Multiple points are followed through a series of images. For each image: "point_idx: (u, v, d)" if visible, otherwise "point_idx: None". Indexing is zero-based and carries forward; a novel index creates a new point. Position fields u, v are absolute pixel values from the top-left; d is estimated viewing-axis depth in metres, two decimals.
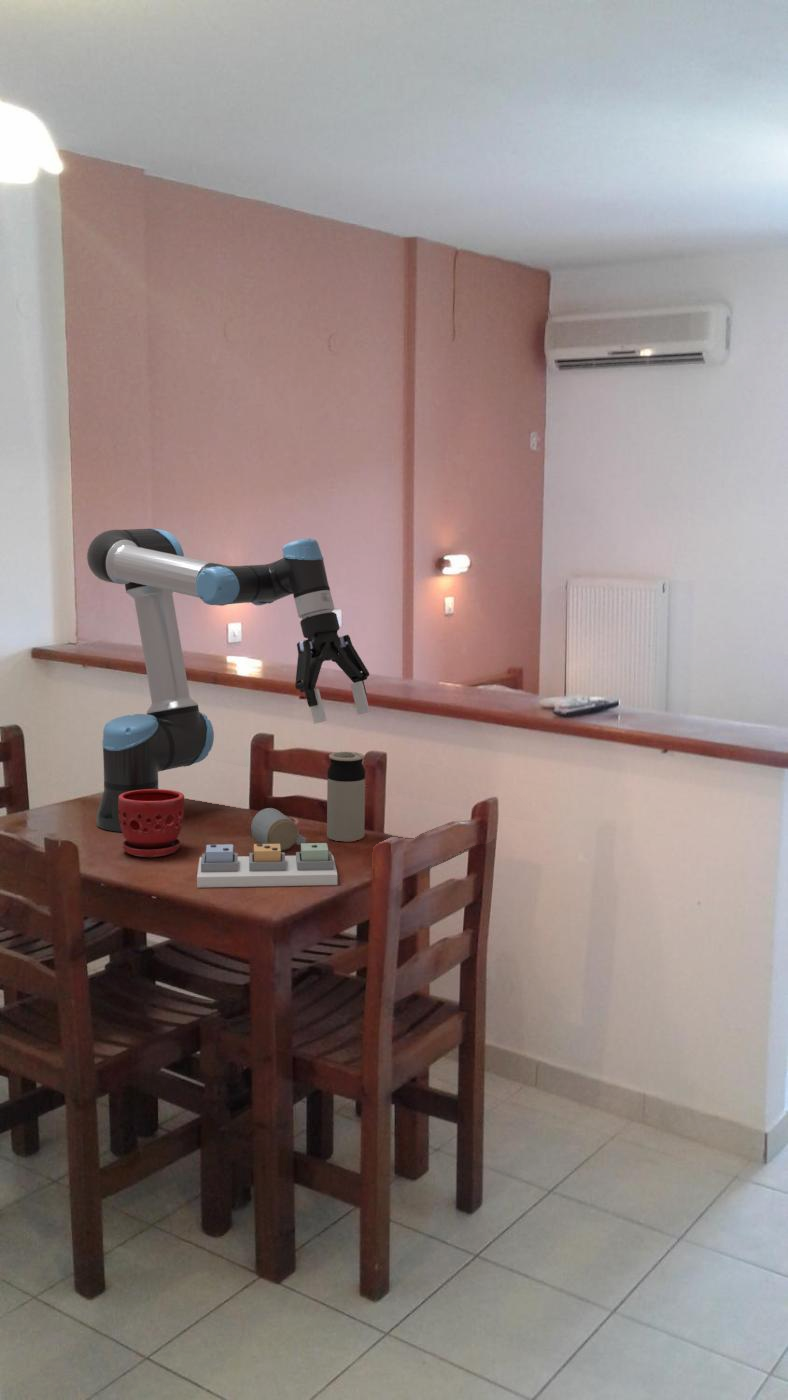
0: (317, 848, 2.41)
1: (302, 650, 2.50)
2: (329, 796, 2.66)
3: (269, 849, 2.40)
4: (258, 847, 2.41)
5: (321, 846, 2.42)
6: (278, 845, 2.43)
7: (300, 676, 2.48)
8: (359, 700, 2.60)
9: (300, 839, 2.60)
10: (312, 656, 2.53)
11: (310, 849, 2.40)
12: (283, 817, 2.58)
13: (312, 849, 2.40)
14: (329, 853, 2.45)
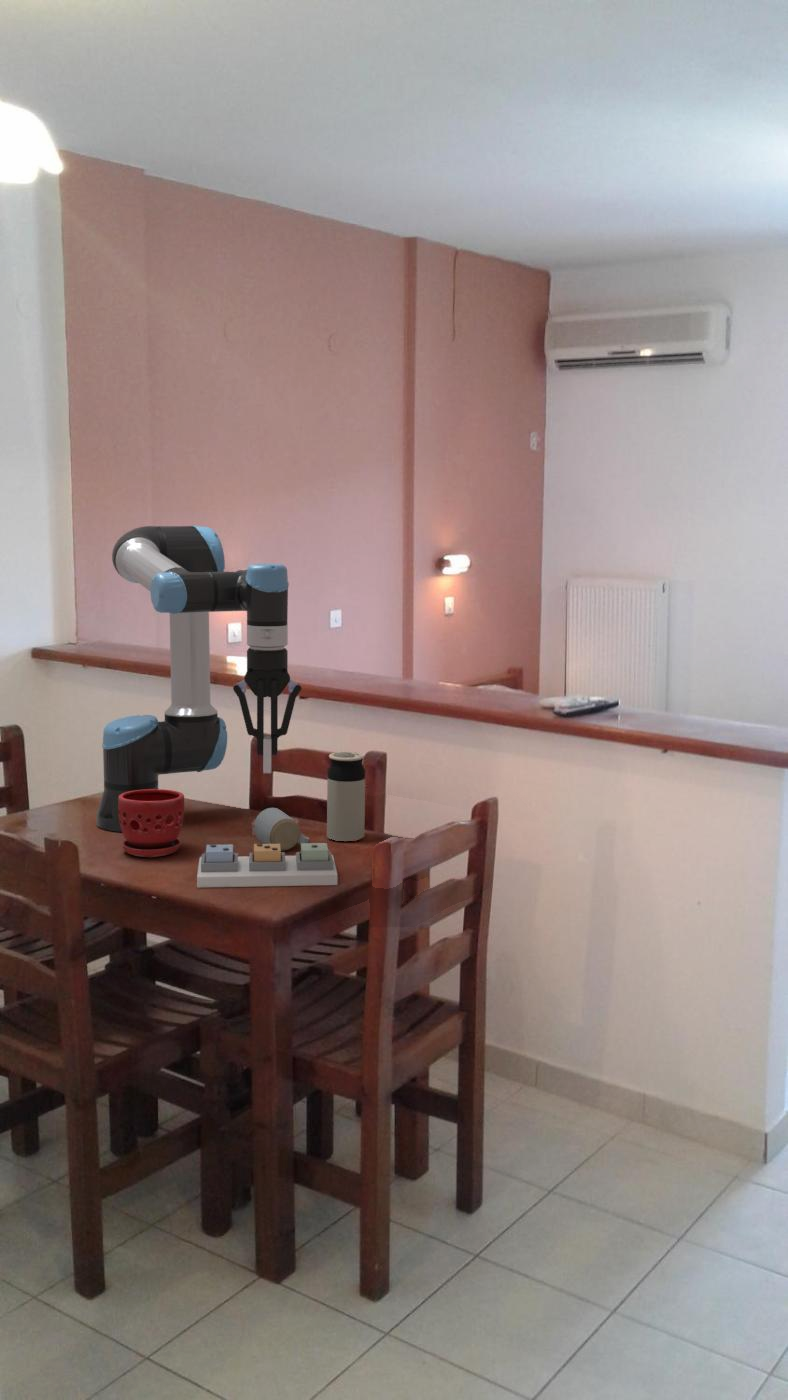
0: (317, 848, 2.41)
1: None
2: (329, 796, 2.66)
3: (269, 849, 2.40)
4: (258, 847, 2.41)
5: (321, 846, 2.42)
6: (278, 845, 2.43)
7: None
8: None
9: (303, 839, 2.61)
10: None
11: (310, 849, 2.40)
12: (286, 817, 2.58)
13: (312, 849, 2.40)
14: (329, 853, 2.45)
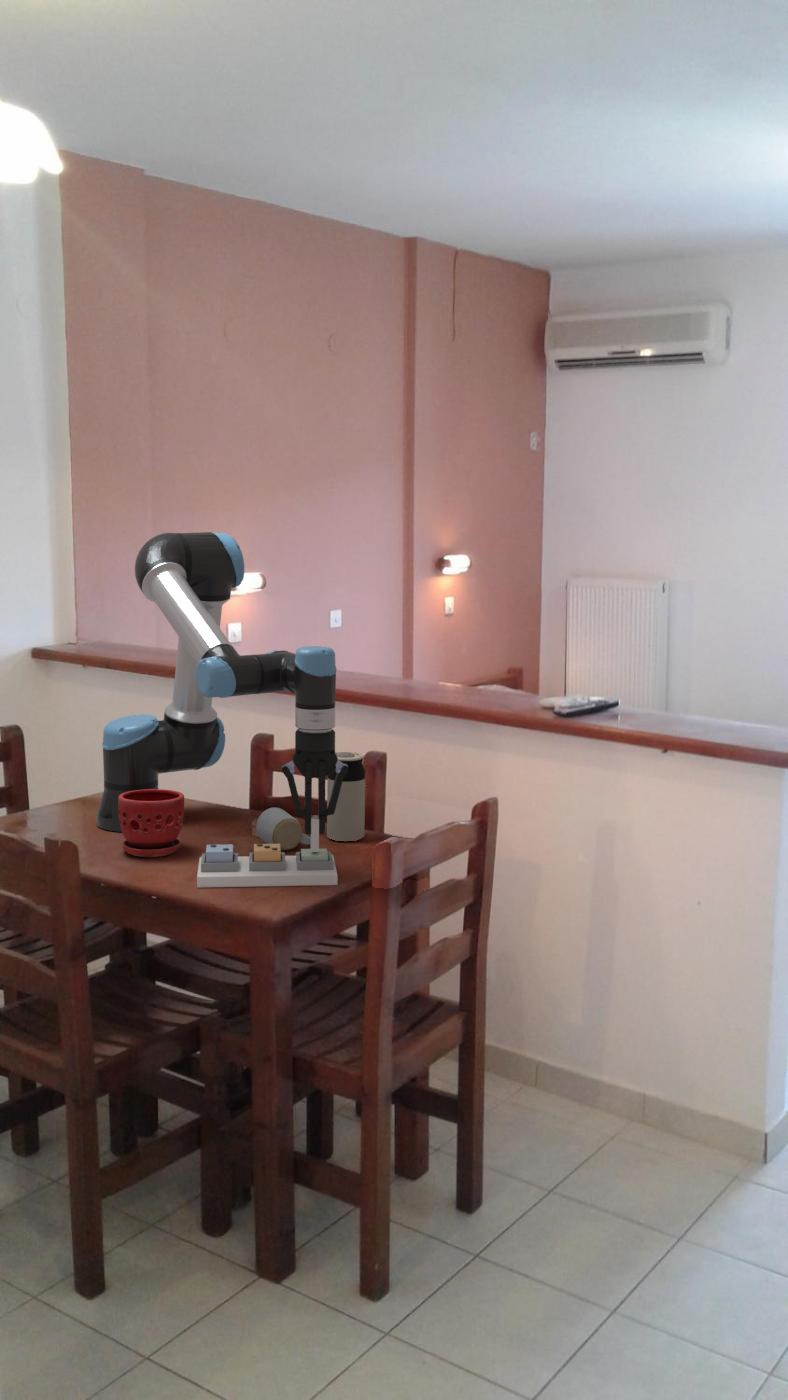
0: (317, 853, 2.41)
1: None
2: (329, 796, 2.66)
3: (269, 849, 2.40)
4: (258, 847, 2.41)
5: (321, 852, 2.42)
6: (278, 845, 2.43)
7: None
8: None
9: (305, 838, 2.61)
10: None
11: (310, 855, 2.40)
12: (288, 816, 2.58)
13: (312, 855, 2.40)
14: (329, 853, 2.45)
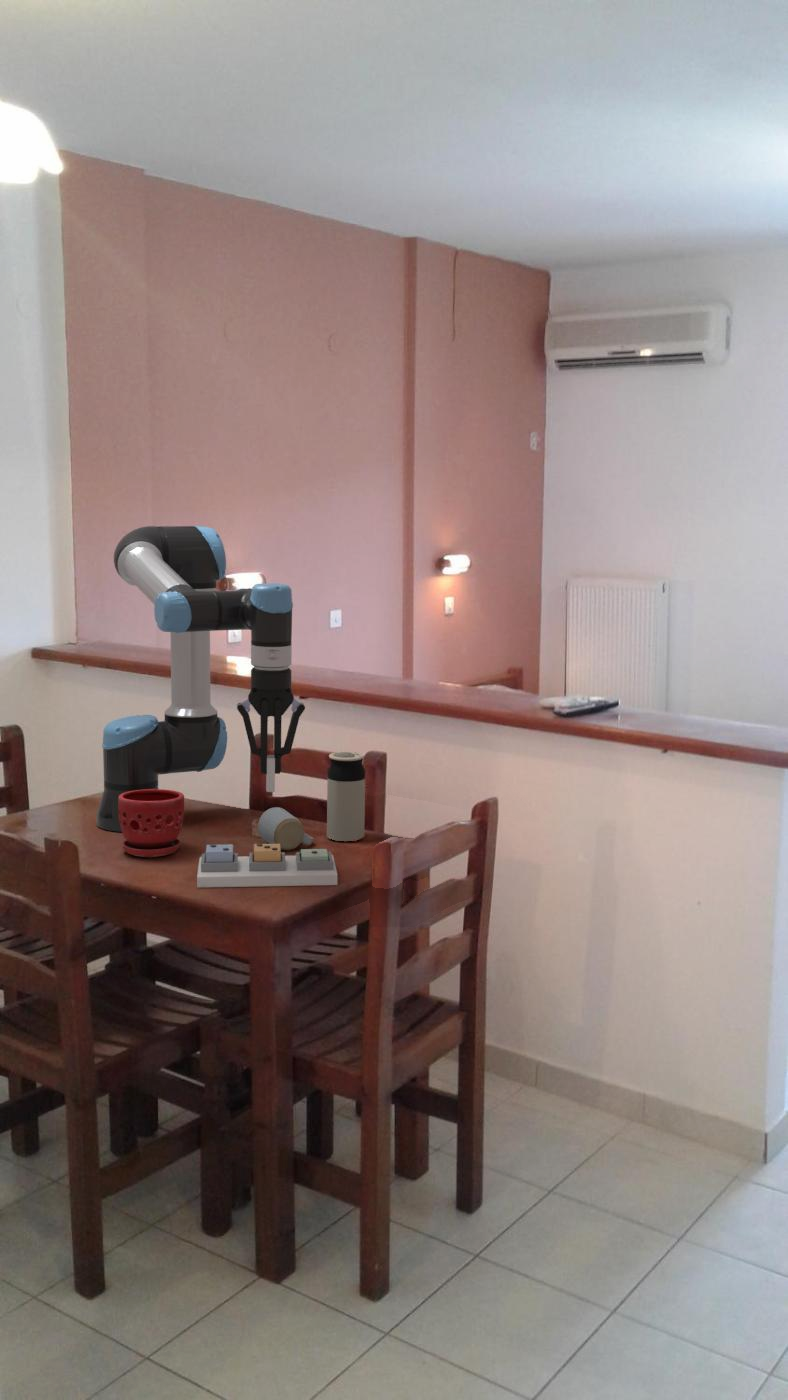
0: (317, 854, 2.41)
1: None
2: (329, 796, 2.66)
3: (269, 849, 2.40)
4: (258, 847, 2.41)
5: (321, 852, 2.42)
6: (278, 845, 2.43)
7: None
8: None
9: (307, 838, 2.61)
10: None
11: (310, 855, 2.40)
12: (290, 816, 2.59)
13: (312, 855, 2.40)
14: (329, 853, 2.45)
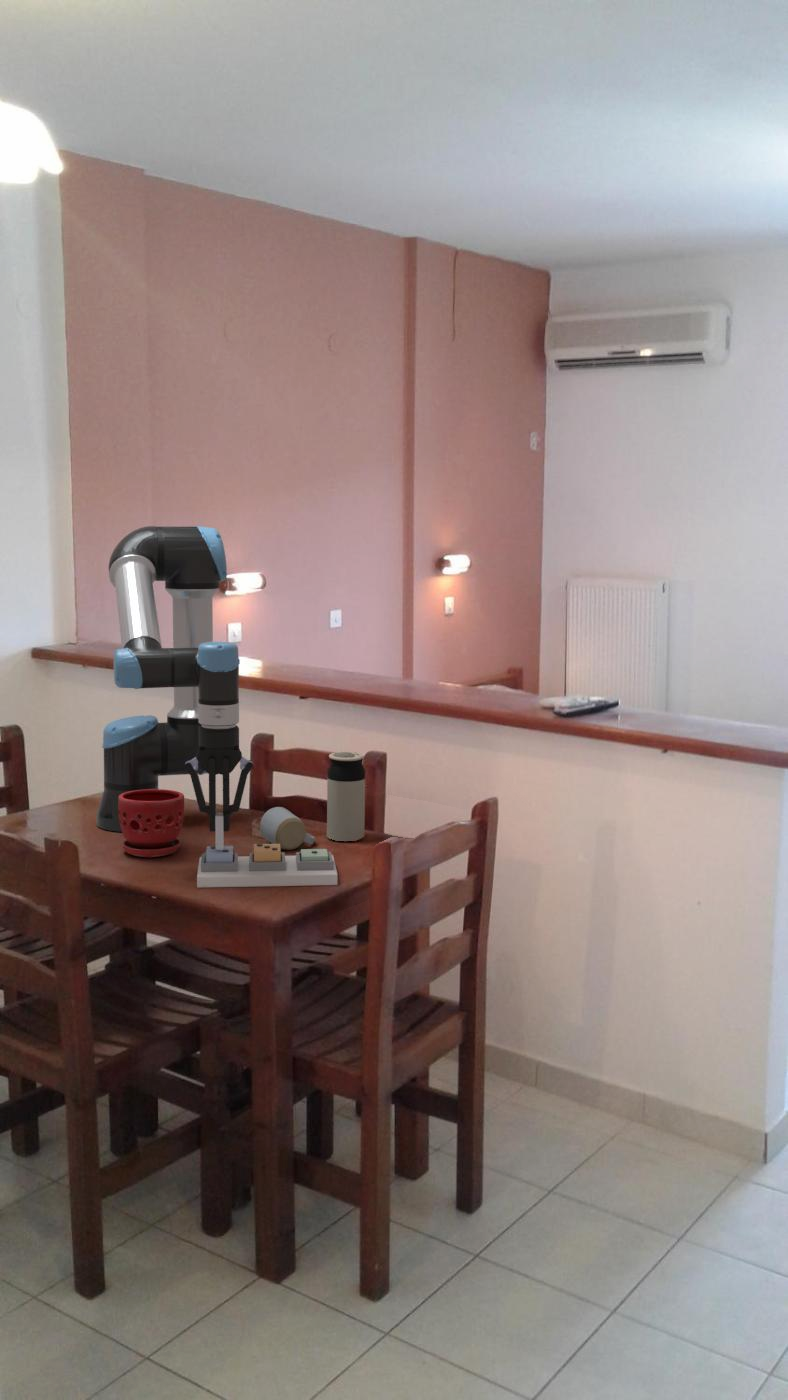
0: (317, 854, 2.41)
1: None
2: (329, 796, 2.66)
3: (269, 849, 2.40)
4: (258, 847, 2.41)
5: (321, 852, 2.42)
6: (278, 845, 2.43)
7: None
8: None
9: (308, 838, 2.61)
10: None
11: (310, 855, 2.40)
12: (291, 816, 2.59)
13: (312, 855, 2.40)
14: (329, 853, 2.45)
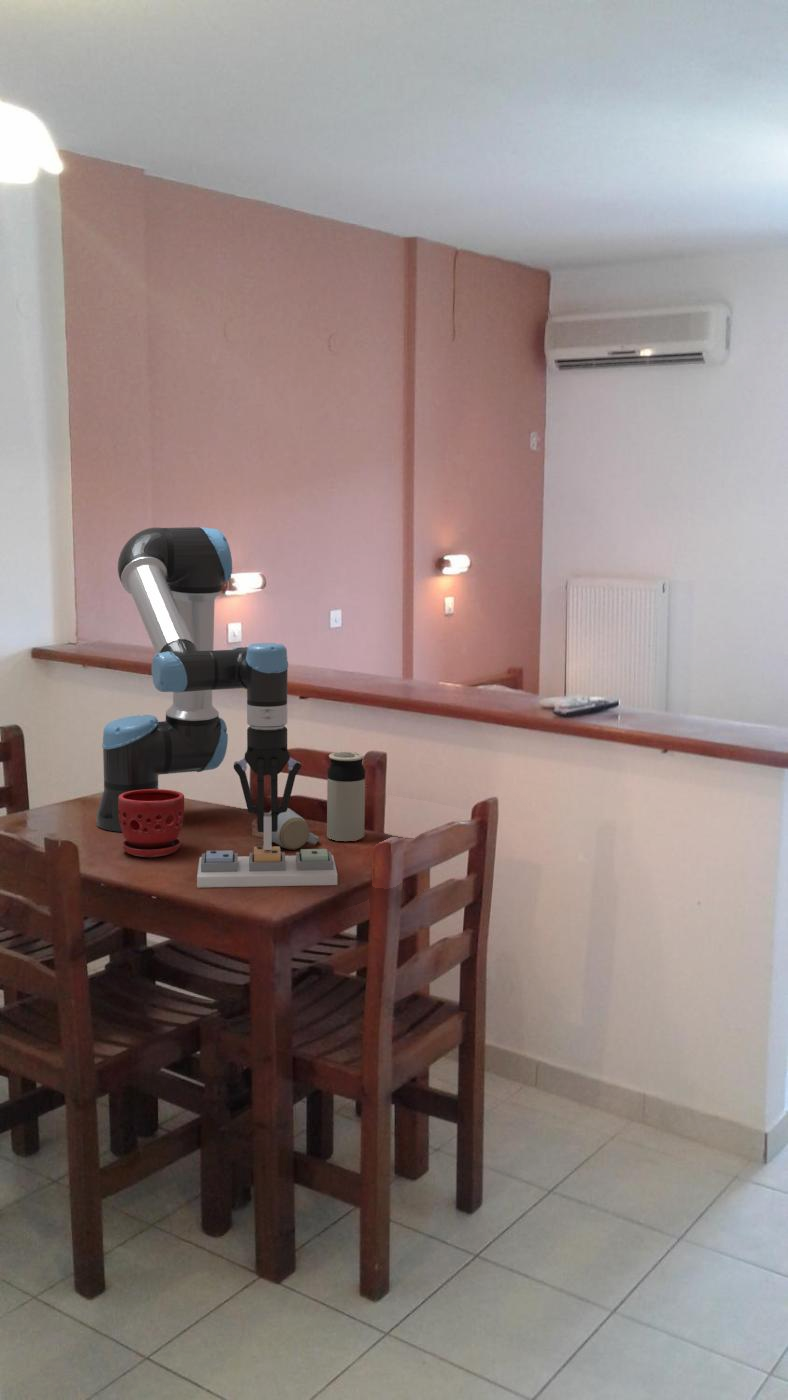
0: (317, 854, 2.41)
1: None
2: (329, 796, 2.66)
3: (269, 852, 2.40)
4: (258, 850, 2.41)
5: (321, 852, 2.42)
6: (278, 848, 2.43)
7: None
8: None
9: (312, 837, 2.62)
10: None
11: (310, 855, 2.40)
12: (295, 815, 2.59)
13: (312, 855, 2.40)
14: (329, 853, 2.45)
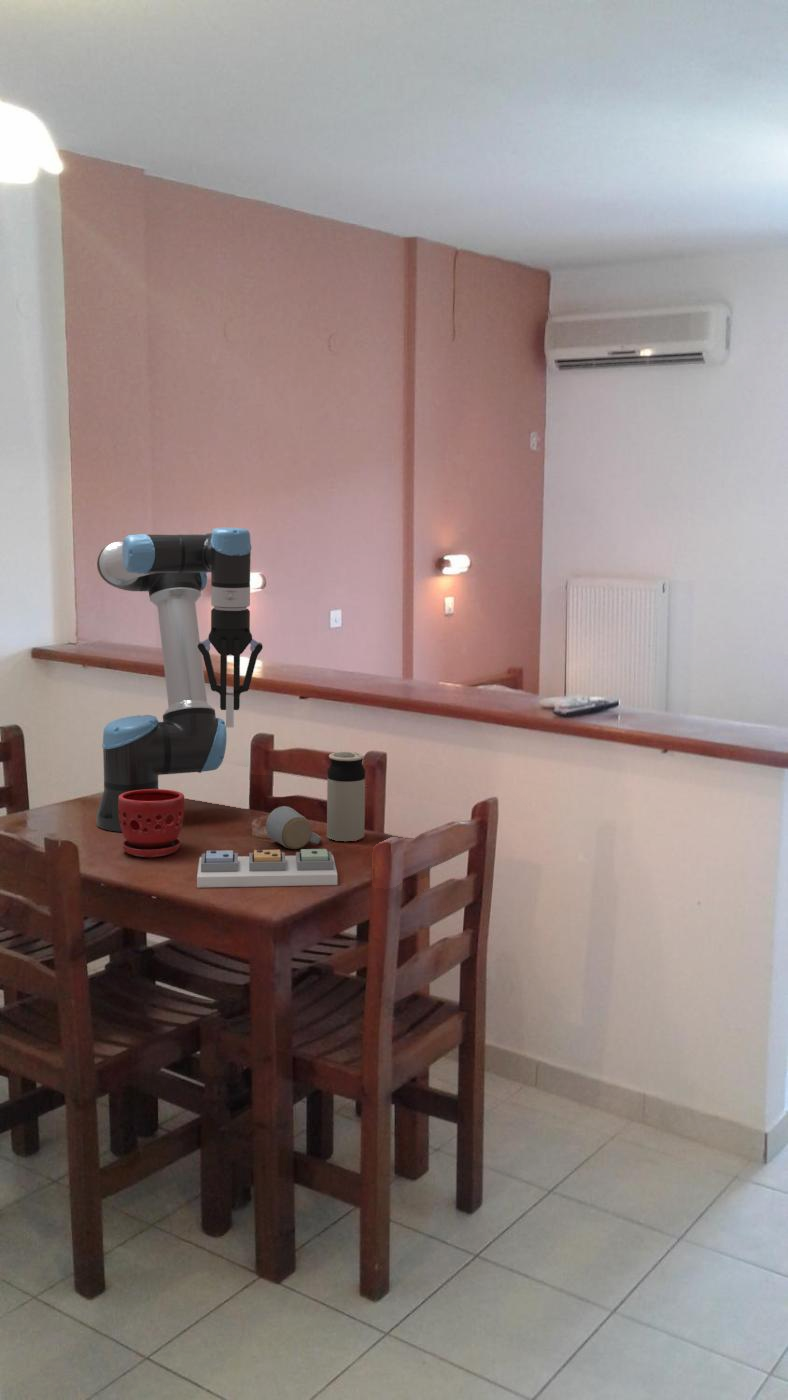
0: (317, 854, 2.41)
1: None
2: (329, 796, 2.66)
3: (269, 855, 2.40)
4: (258, 853, 2.41)
5: (321, 852, 2.42)
6: (278, 851, 2.43)
7: None
8: None
9: (314, 837, 2.62)
10: None
11: (310, 855, 2.40)
12: (297, 815, 2.60)
13: (312, 855, 2.40)
14: (329, 853, 2.45)
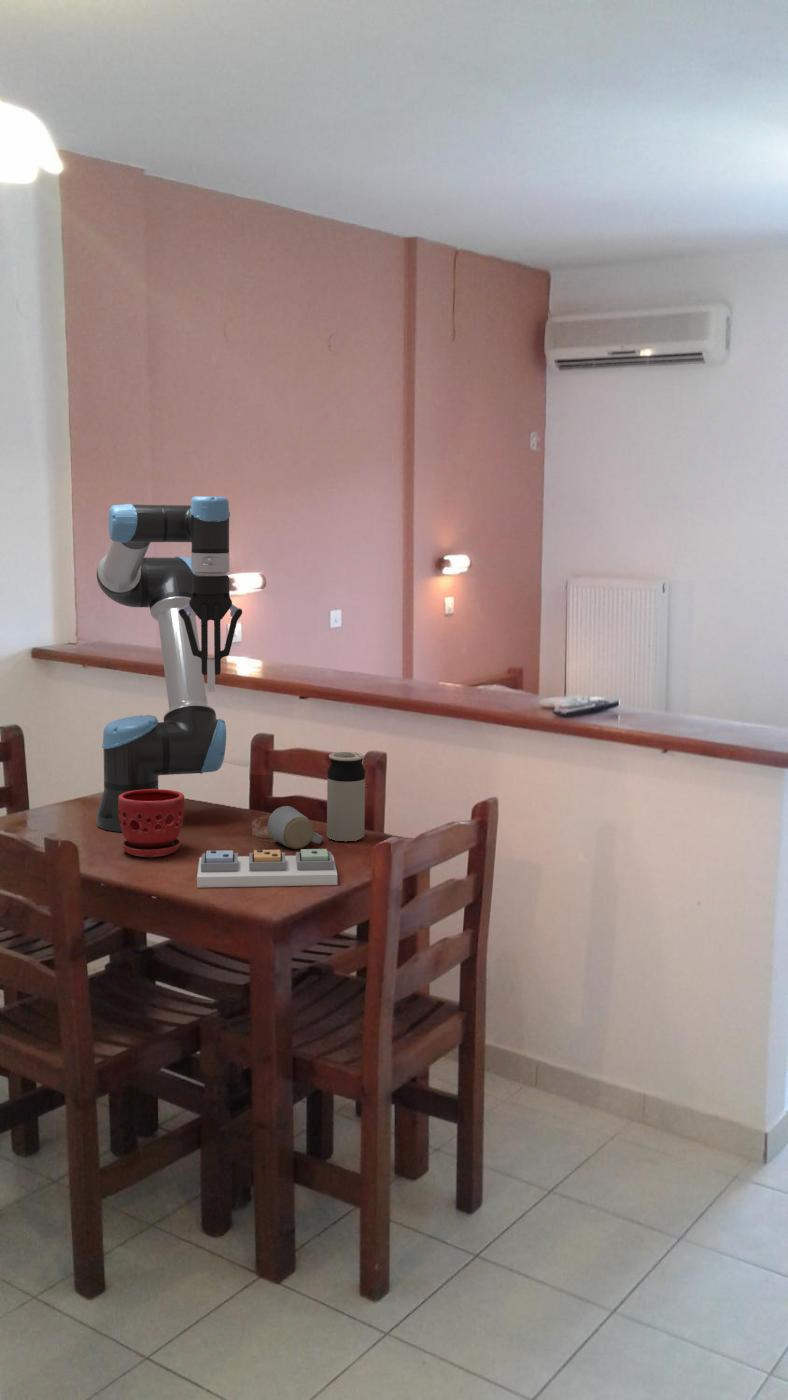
0: (317, 854, 2.41)
1: None
2: (329, 796, 2.66)
3: (269, 855, 2.40)
4: (258, 853, 2.41)
5: (321, 852, 2.42)
6: (278, 851, 2.43)
7: None
8: None
9: (316, 837, 2.62)
10: None
11: (310, 855, 2.40)
12: (299, 815, 2.60)
13: (312, 855, 2.40)
14: (329, 853, 2.45)
